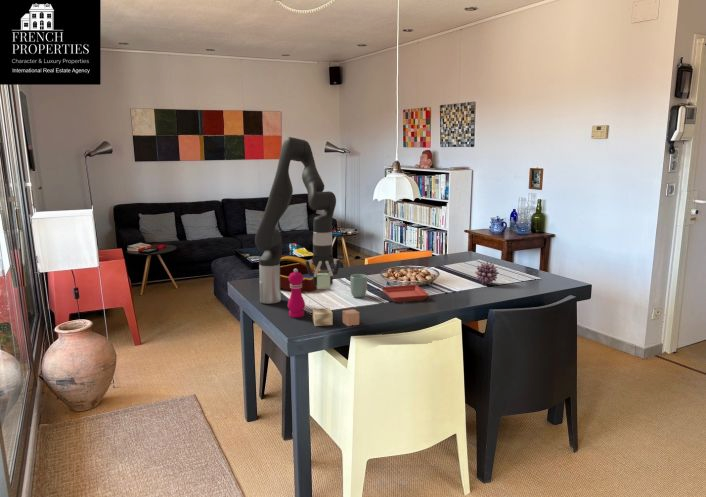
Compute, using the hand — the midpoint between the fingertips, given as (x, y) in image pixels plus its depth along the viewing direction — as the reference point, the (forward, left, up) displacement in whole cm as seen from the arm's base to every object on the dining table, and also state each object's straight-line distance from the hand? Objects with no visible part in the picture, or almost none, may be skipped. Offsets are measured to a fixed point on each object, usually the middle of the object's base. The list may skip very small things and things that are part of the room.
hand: (322, 285), depth 211 cm
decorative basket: (-5, +63, -16) cm, 65 cm away
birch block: (0, 0, -16) cm, 16 cm away
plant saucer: (+43, +30, -16) cm, 54 cm away
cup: (+22, +34, -16) cm, 43 cm away
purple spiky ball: (+91, +44, -16) cm, 102 cm away
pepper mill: (-10, +11, -16) cm, 21 cm away
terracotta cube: (+11, -3, -15) cm, 19 cm away
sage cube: (0, 0, -1) cm, 1 cm away
